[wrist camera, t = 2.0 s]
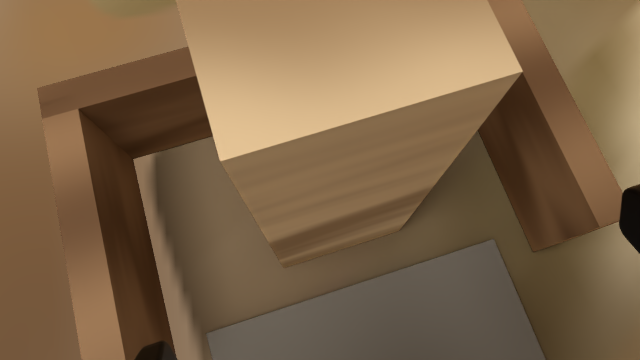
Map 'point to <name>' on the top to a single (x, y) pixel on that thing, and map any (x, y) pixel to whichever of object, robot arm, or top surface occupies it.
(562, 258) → the top surface
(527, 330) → the slate mat
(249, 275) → the top surface
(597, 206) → the walnut crate
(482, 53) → the ash block
